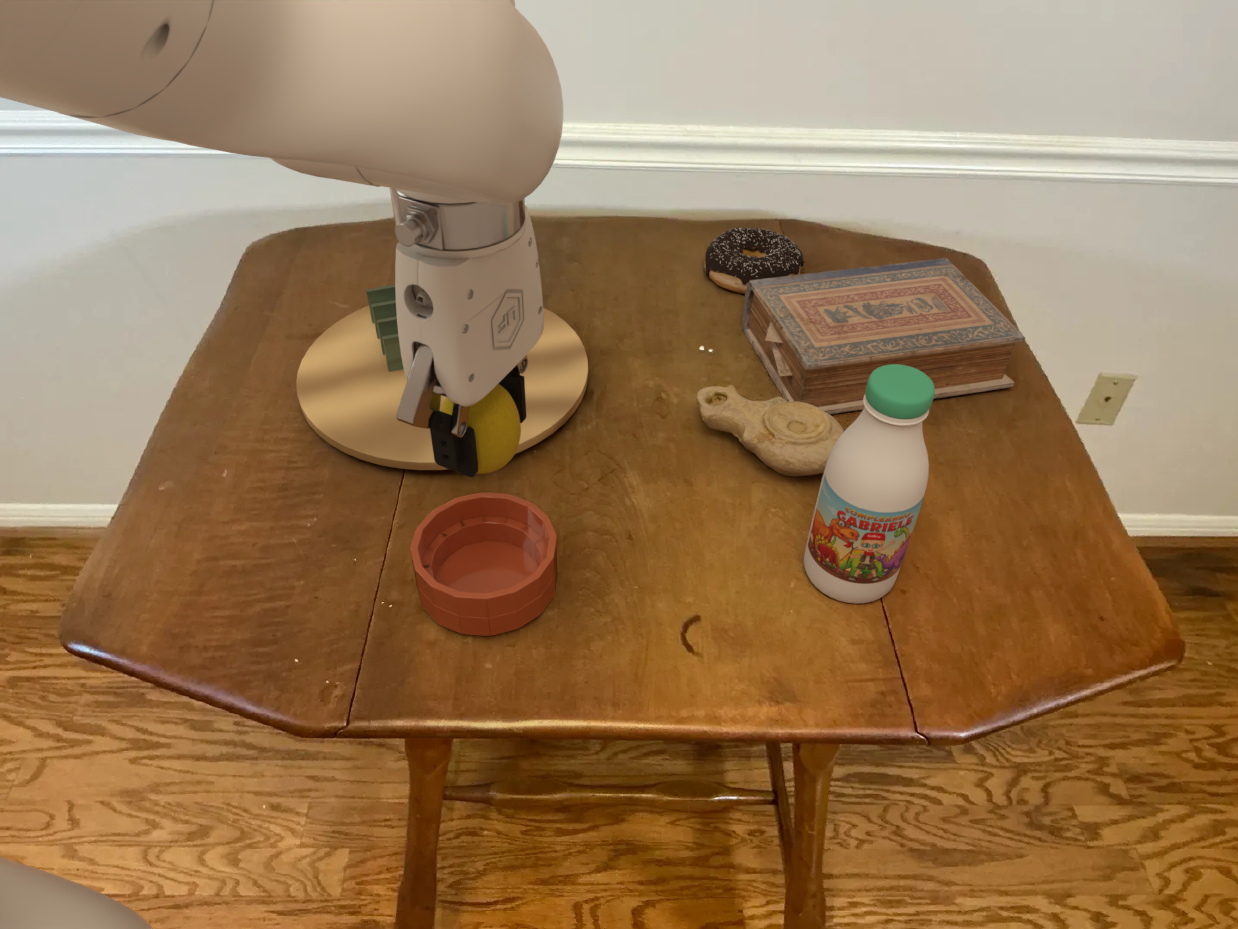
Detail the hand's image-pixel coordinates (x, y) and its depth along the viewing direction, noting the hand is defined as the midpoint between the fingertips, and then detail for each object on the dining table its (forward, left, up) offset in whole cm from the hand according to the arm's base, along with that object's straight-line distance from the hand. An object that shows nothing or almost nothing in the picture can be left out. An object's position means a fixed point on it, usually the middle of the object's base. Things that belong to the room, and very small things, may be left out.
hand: (481, 439), depth 66 cm
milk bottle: (+15, -25, -16) cm, 34 cm away
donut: (+56, -2, -16) cm, 58 cm away
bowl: (0, +1, -16) cm, 16 cm away
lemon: (0, 0, -3) cm, 3 cm away
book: (+45, -19, -16) cm, 52 cm away
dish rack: (+21, +18, -15) cm, 31 cm away
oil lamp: (+26, -14, -16) cm, 34 cm away
